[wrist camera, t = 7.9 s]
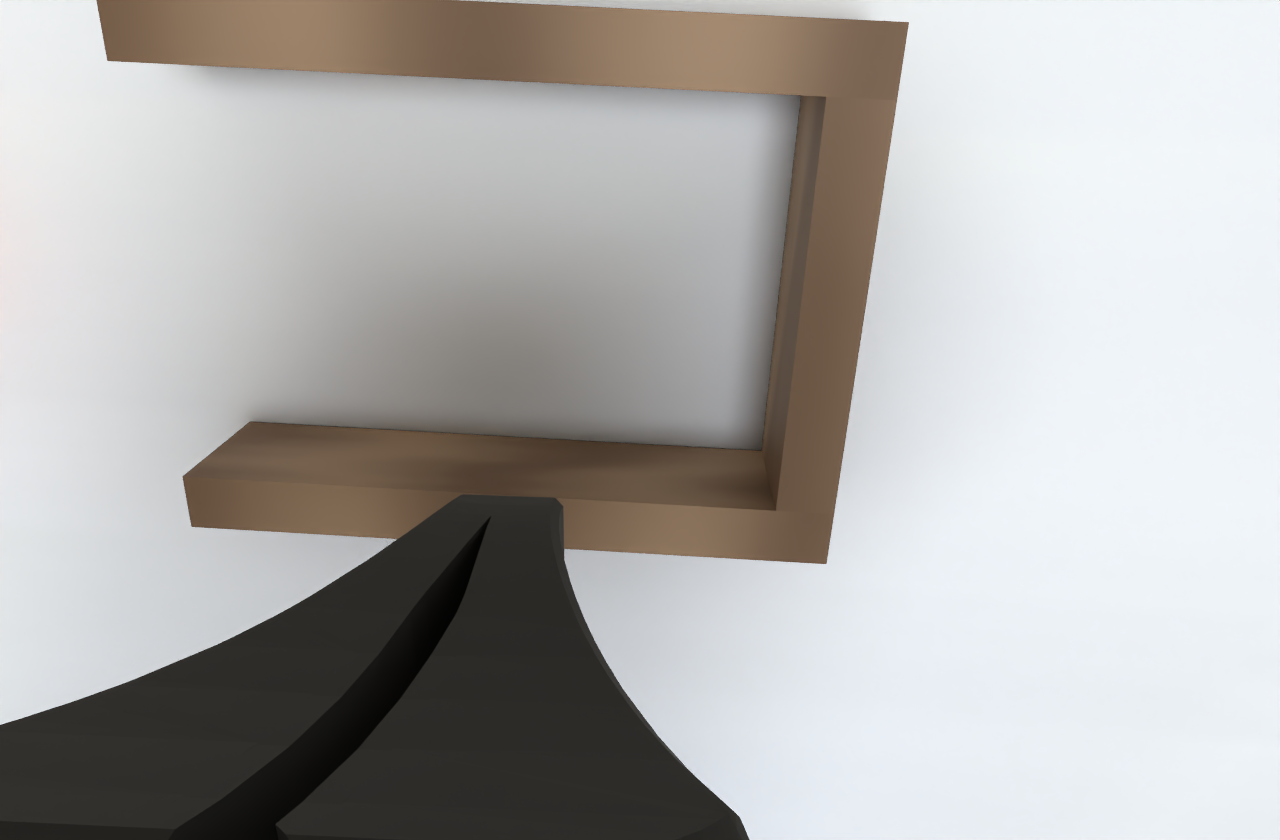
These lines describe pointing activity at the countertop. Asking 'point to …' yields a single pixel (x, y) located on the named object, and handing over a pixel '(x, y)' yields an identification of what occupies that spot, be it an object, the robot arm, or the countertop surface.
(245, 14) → the wooden frame
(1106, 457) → the countertop surface
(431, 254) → the countertop surface
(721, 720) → the countertop surface
